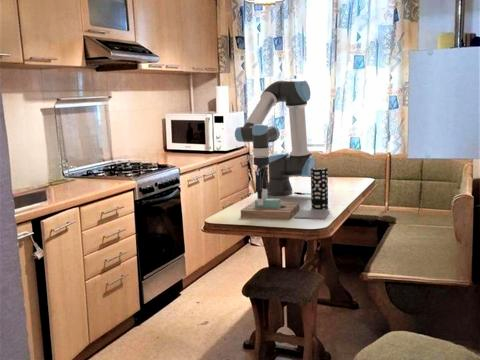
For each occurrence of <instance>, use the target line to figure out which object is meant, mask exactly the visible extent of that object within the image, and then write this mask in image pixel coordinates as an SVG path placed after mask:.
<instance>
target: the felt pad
mask: <svg viewBox="0 0 480 360" xmlns="http://www.w3.org/2000/svg"><path fill="white" fill-rule="evenodd" d="M329 212H330V210H307V209H301V210H299V211H298V212H297V213H296V214H295V215H294V219H304V218H305V219H308V220H309V219H310V220H325V219H326V218H327V217H328V215H329V214H330V213H331V212H330V213H329Z"/></svg>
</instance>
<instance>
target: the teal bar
mask: <svg viewBox="0 0 480 360" xmlns="http://www.w3.org/2000/svg"><path fill="white" fill-rule="evenodd" d="M254 201H255V207H258V208H281V202H282V199H281V198H268V199H263V205H258V200H257V198H256V199H254Z"/></svg>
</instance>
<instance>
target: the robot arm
mask: <svg viewBox="0 0 480 360" xmlns="http://www.w3.org/2000/svg"><path fill="white" fill-rule="evenodd" d="M259 98H260V99H259V101H258V103H257V104H256V106H255V107H254V109H253V111H252V112H251V113H250V116H249V117H248V118H247V120H246V122H245V123H244V124H243V126H238V127H236V129H235V130H234V137H235V140H236V142H240V143H252V149H251V151H252V155H253V160H252V161H253V166H257V167H256V170H255V171H254V176H255V179H254V180H255V193H256V194H257V196H256V197H257V198H256V199H257V200H258V205H263V199H269V198H268V195H269V196H287V195H291V194H293V187H292V183H291V182H290V177H301V178H302V177H311V168H315V165H316V160H315V156H314V155H312V154H311V151H310V150H309V149H308V140H307V137H308V136H307V125H306V111H305V108H306V106H307V105H308V101H309V102H310V99H311V89H310V86H309V84H308V81H307V80H305V79H287V80H285V79H284V80H276V81H275V82H273V83H271V84H269V85H268V86H267V87H266V88H265V89H264V90H263V91H262V93H261V95H260V97H259ZM281 102H282V103H285V106H286V107H287V108H288V113H289V128H290V141H291V142H290V143H291V151H290V152H289V153H288V152H280V153H275V154H270V152H269V150H270V149H269V143H274V142H276V141H278V139H280V136H281V134H280V130H279V129H278V128H277V126H268V124H266V123H264V121H265V119H266V117H267V116H268V114H269V113H270V111H271V109H272V108H273V107H275V106H276V105H277V103H281Z"/></svg>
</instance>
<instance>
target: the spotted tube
mask: <svg viewBox="0 0 480 360" xmlns="http://www.w3.org/2000/svg"><path fill="white" fill-rule="evenodd" d="M328 172H329V170H328V167H324V166H322V167H321V166H319V167H318V166H316V167H315V166H314V168H311V175H310V192H311V193H310V196H311V197H310V198H311V199H310V201H311V204H310V205H311V209H313V210H317V209H318V210H317V211H322V210H321V209H323V210H327V209H328V208H329V183H328V182H329V173H328ZM319 209H320V210H319Z"/></svg>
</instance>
